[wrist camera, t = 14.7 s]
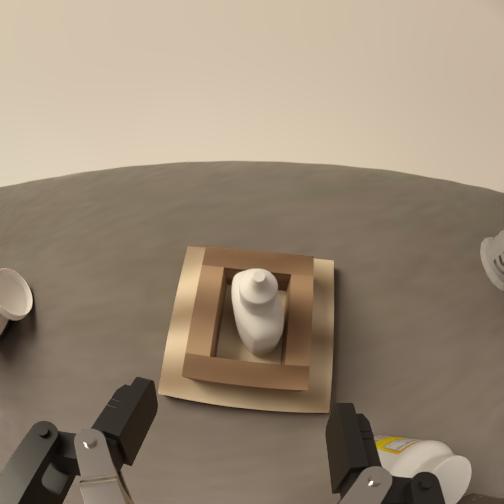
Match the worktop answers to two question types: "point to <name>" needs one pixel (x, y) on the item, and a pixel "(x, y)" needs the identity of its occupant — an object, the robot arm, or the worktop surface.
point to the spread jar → (13, 298)
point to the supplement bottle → (425, 463)
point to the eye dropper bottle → (257, 310)
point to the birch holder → (231, 346)
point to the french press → (494, 259)
